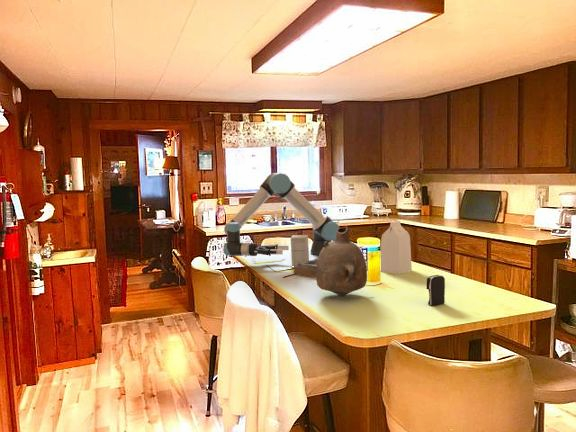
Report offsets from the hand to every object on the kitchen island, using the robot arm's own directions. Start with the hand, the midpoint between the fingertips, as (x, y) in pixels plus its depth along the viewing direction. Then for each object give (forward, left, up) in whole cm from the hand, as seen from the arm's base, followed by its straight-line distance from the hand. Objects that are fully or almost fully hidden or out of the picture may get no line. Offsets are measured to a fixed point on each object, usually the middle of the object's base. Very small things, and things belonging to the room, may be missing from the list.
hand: (285, 249), depth 272 cm
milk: (-23, +57, -9) cm, 62 cm away
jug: (+33, +65, -9) cm, 74 cm away
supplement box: (-4, +7, -9) cm, 12 cm away
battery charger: (+20, +101, -9) cm, 103 cm away
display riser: (+4, +29, -9) cm, 31 cm away
